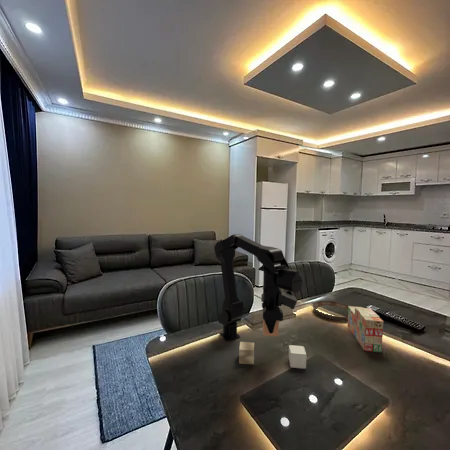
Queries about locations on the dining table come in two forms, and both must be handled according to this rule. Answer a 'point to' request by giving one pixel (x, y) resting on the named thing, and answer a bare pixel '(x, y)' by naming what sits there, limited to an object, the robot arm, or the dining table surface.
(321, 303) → the plant saucer
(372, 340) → the stack of blocks
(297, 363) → the off-white cube
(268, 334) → the terracotta cube
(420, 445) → the dining table surface
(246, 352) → the birch cube
